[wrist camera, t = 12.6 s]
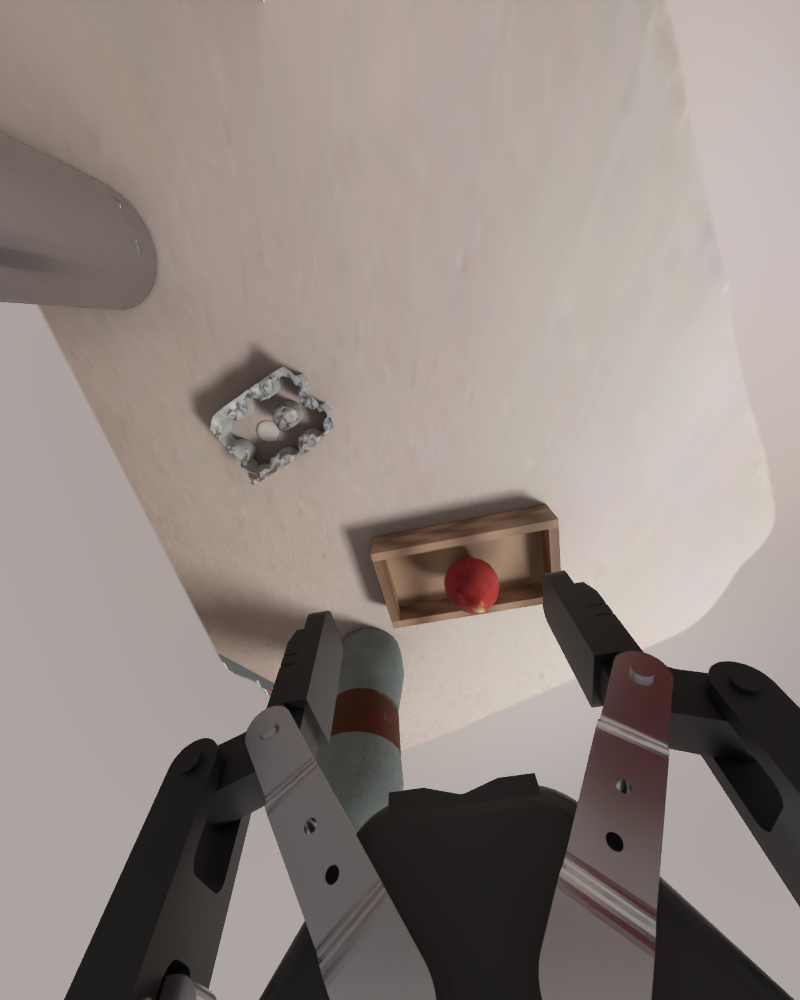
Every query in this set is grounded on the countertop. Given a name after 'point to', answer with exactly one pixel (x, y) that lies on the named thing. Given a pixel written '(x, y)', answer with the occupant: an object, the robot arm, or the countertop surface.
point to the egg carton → (269, 424)
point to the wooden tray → (493, 538)
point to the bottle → (365, 726)
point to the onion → (471, 585)
